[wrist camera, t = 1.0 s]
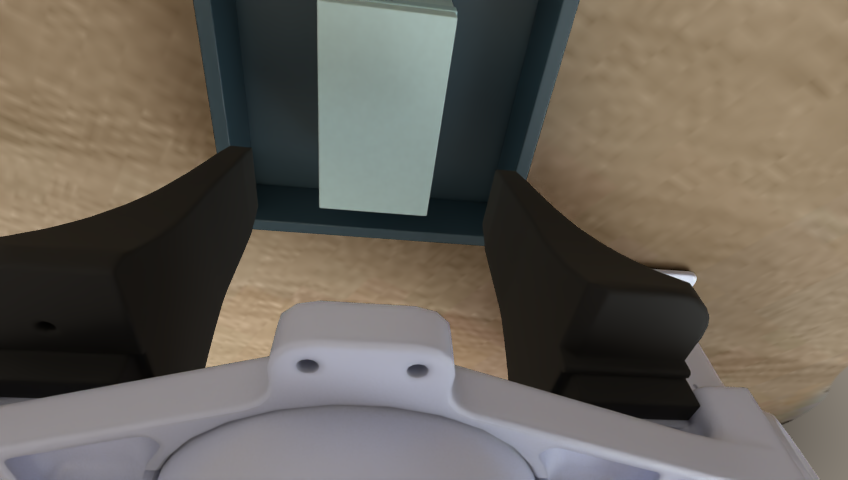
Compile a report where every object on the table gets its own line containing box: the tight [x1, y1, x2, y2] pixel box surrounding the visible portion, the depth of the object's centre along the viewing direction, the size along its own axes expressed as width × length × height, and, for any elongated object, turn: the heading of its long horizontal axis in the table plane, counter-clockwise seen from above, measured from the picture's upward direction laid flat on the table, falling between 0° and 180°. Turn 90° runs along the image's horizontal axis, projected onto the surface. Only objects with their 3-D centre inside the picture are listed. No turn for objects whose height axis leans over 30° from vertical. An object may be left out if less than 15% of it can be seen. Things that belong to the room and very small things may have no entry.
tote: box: [193, 0, 579, 246], centre depth 21 cm, size 13×13×4 cm
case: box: [317, 0, 457, 216], centre depth 20 cm, size 8×5×4 cm, turn 173°
